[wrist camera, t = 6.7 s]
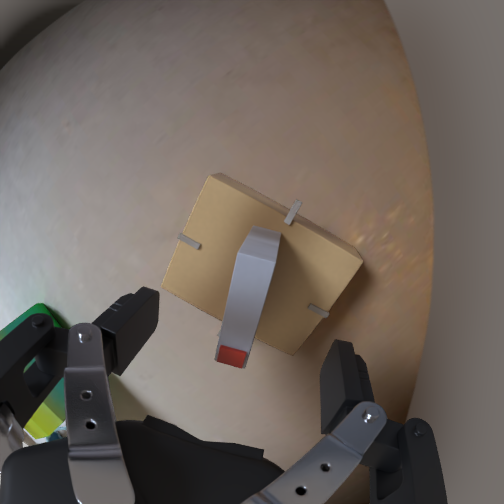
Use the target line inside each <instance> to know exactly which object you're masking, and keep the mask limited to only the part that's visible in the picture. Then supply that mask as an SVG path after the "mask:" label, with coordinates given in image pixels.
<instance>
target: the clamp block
mask: <svg viewBox="0 0 504 504" xmlns="http://www.w3.org/2000/svg"><path fill="white" fill-rule="evenodd" d="M301 204H302V202H301V201H299V200H297V199H296V201H295V203H294V204H293V206H292V208H291V210H290V209H288V208H286V207H284V206H282V205H281V204H279V203H277V202H275V201H273V200H272V199H270V198H268V197H266V196H264V195H262V194H260V193H259V192H257V191H255V190H253V189H251V188H249V187H247V186H245V185H244V184H242V183H240V182H238V181H236V180H234V179H232V178H230V177H228V176H226V175H224V174H222V173H216V174H213V175H209V176H208V178H207V180H206V182H205V184H204V186H203V188H202V190H201V193H200V195H199V197H198V199H197V201H196V203H195V206H194V208H193V210H192V212H191V215H190V217H189V219H188V221H187V224H186V226H185V228H184V231H183V233H180V234H179V236H178V239H179V242H178V245H177V247H176V249H175V252H174V254H173V257H172V259H171V262H170V264H169V267H168V269H167V272H166V274H165V277H164V279H163V282H162V284H161V287H162V288H163V289H165V290H167V291H168V292H170V293H172V294H174V295H175V296H177V297H179V298H181V299H182V300H184V301H186V302H188V303H190V304H191V305H193V306H195V307H197V308H199V309H200V310H202V311H204V312H206V313H208V314H210V315H211V316H213V317H215V318H217V319H219V320H221V321H223V317H224V312H225V308H226V303H227V298H228V294H229V289H230V284H231V280H232V275H233V271H234V266H235V262H236V257H237V253H238V251H239V249H240V248H241V246H242V244H243V242H244V241H245V239H246V237H247V235H248V234H249V232H250V230H251V229H252V227H253V226H258V227H262V228H266V229H270V230H273V231H277V232H281V238H280V244H279V250H278V255H277V261H276V265H275V269H274V272H273V276H272V279H271V283H270V286H269V290H268V293H267V297H266V300H265V304H264V307H263V311H262V314H261V317H260V321H259V324H258V327H257V331H256V334H255V338H256V339H258V340H260V341H262V342H264V343H266V344H268V345H270V346H273V347H275V348H277V349H279V350H281V351H283V352H285V353H287V354H290V355H292V356H293V355H294V354H295V352H296V351H297V350H298V349H299V348H300V346H301V345H302V344H303V343H304V341H305V340H306V339H307V338H308V336H309V335H310V334H311V333H312V331H313V330H314V329H315V328H316V326H317V325H318V324H319V322H320V321H321V320H322V319H323V317H325V318H327V317H328V315H329V312H328V311H329V309H330V308H331V307H332V305H333V304H334V303H335V301H336V300H337V299H338V297H339V296H340V295H341V293H342V292H343V290H344V289H345V288H346V286H347V285H348V283H349V282H350V281H351V279H352V278H353V276H354V275H355V273H356V272H357V271H358V269H359V268H360V266H361V265H362V263H363V260H362V259H361V257H360V255H359V254H358V252H357V250H356V249H355V247H353V246H351V245H350V244H348V243H346V242H345V241H343V240H341V239H340V238H338V237H336V236H335V235H333V234H331V233H330V232H328V231H326V230H324V229H323V228H321V227H319V226H318V225H316V224H314V223H312V222H311V221H309V220H307V219H306V218H304V217H302V216H300V215H298V214H297V211H298V210H299V208H300V206H301ZM220 331H221V330H220ZM220 331H219V333H218V335H217V336H220Z"/></svg>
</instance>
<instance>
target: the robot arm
mask: <svg viewBox="0 0 504 504" xmlns="http://www.w3.org/2000/svg"><path fill="white" fill-rule="evenodd" d="M158 315H159V292H158V291H156V290H153V289H150V288H147V287H142V288H141V289H139V290H138V291H137V292H136V293H135V294H132V293H130V294H127V295H124V296H122V297H120V298H119V299H118V300H117V301H116V302H115V303H114V304H112V305H111V306H110V307H109V308H108V309H107V310H106V311H105V312H103V313H102V314H101V315H100V316H99V317H98V318H97V319H96V320H95V321H94V322H92V323H79V324H76V325H74V326H73V327H71V328H70V330H69V329H64V328H60V327H55V326H54V322H53V319H52V317H51V316H50V315H48V314H45V313H35V314H32V315H30V316H29V317H27V318H26V319H25V320H24V321H23V322H21V323H20V324H19V325H18V326H17V327H16V328H14V329H13V330H12V331H11V332H10V333H9V334H7V335H6V336H5V337H4V338H3V339H2V340H1V341H0V474H1V485H0V504H324V503H325V502H326V501H327V500H328V499H329V497H330V496H331V495H332V494H333V493H334V492H335V491H336V490H337V489H338V488H339V487H340V485H341V484H342V483H343V482H344V481H345V480H346V478H347V477H348V476H349V475H350V474H351V472H352V471H353V470H354V469H355V468H356V466H357V465H358V464H362V465H365V466H368V467H369V471H370V504H448V503H447V496H446V490H445V485H444V479H443V474H442V469H441V464H440V459H439V455H438V451H437V447H436V442H435V438H434V434H433V431H432V428H431V427H430V425H429V424H428V423H427V422H426V421H424V420H422V419H419V418H412V419H409V420H408V421H407V422H406V423H405V424H404V425H403V424H400V423H397V422H394V421H391V420H389V419H387V415H386V412H385V411H384V409H383V408H382V407H381V406H379V405H378V404H376V403H375V401H374V396H373V392H372V387H371V383H370V380H369V375H368V371H367V366H366V363H365V362H364V360H363V359H362V358H361V356H360V355H356V354H355V353H354V349H353V344H352V343H351V342H347V341H342V340H337V339H336V340H334V342H333V344H332V346H331V348H330V350H329V352H328V354H327V357H326V359H325V361H324V363H323V365H322V368H321V371H320V399H321V434H326V436H325V437H323V438H322V439H321V440H320V441H319V442H318V443H317V444H316V445H315V446H314V447H313V448H312V449H311V450H310V451H309V452H307V453H306V454H305V455H304V456H303V457H302V458H301V459H300V460H298V461H297V462H296V463H295V464H294V465H293V466H291V467H290V468H289V469H288V470H287V471H284V470H282V469H281V468H280V467H279V466H277V465H276V464H275V463H273V462H271V461H269V460H268V459H265V458H263V453H264V449H259V448H254V447H249V446H245V445H241V444H236V443H223V442H209V441H202V440H200V439H198V438H196V437H194V436H192V435H191V434H189V433H187V432H185V431H184V430H182V429H180V428H179V427H177V426H176V425H173V424H171V423H168V422H165V421H163V420H160V419H157V418H155V417H152V416H150V415H147V416H146V418H145V420H144V421H136V420H124V421H116V417H115V412H114V407H113V402H112V397H111V392H110V386H109V380H108V376H109V375H110V374H111V372H113V373H115V374H117V375H119V376H121V375H122V373H123V372H124V371H125V369H126V368H127V367H128V365H129V364H130V363H131V361H132V360H133V359H134V357H135V356H136V355H137V353H138V352H139V351H140V349H141V348H142V347H143V345H144V344H145V343H146V342H147V340H148V339H149V338H150V336H151V335H152V334H153V333H154V331H155V329H156V327H157V324H158ZM33 358H35V361H34V363H33V364H32V365H31V366H30V367H29V368H28V369H27V370H26V371H25V372H24V369H25V367H26V366H27V365H28V364H29V363H30V362H31V361H32V360H33ZM62 377H63V378H64V402H65V418H66V429H67V437H64V438H61V439H57V440H53V441H49V442H45V443H41V444H37V445H32V446H28V447H24V448H23V443H22V442H23V440H24V432H23V428H24V427H25V425H26V424H27V423H28V421H29V420H30V419H31V417H32V416H33V415H34V413H35V412H36V411H37V409H38V408H39V407H40V405H41V404H42V403H43V401H44V400H45V399H46V397H47V396H48V395H49V394H50V392H51V391H52V390H53V389H54V387H55V386H56V385H57V384H58V382H59V381H60V380H61V379H62Z"/></svg>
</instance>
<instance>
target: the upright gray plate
mask: <svg viewBox="0 0 504 504" xmlns="http://www.w3.org/2000/svg"><path fill="white" fill-rule="evenodd" d="M280 238H281V232H277V231H273V230H270V229H266V228H262V227H258V226H253V227H252V229H251V230H250V232H249V234H248V235H247V237H246V239H245V241H244V242H243V244H242V246H241V248H240V249H239V251H238V253H237V257H236V262H235V266H234V271H233V275H232V280H231V284H230V289H229V294H228V298H227V303H226V308H225V312H224V317H223V322H222V326H221V331H220V336H219V341H218V345H217V350H216V355H215V360H216V361H217V362H220V363H224V364H227V365H231V366H234V367H238V368H245V367H246V364H247V361H248V357H249V354H250V351H251V347H252V344H253V341H254V338H255V334H256V331H257V327H258V324H259V321H260V317H261V314H262V311H263V307H264V304H265V300H266V297H267V293H268V290H269V286H270V283H271V279H272V276H273V272H274V269H275V265H276V261H277V255H278V250H279V244H280Z"/></svg>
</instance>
